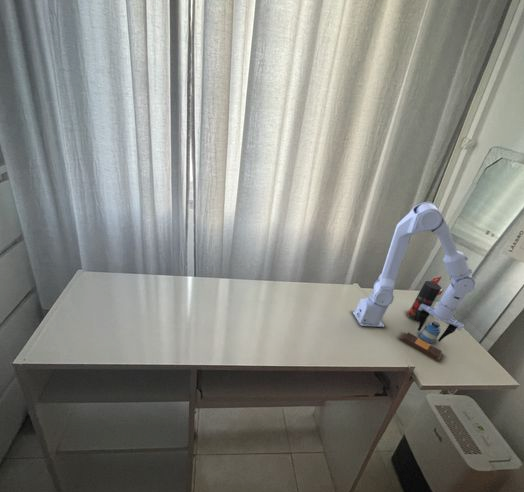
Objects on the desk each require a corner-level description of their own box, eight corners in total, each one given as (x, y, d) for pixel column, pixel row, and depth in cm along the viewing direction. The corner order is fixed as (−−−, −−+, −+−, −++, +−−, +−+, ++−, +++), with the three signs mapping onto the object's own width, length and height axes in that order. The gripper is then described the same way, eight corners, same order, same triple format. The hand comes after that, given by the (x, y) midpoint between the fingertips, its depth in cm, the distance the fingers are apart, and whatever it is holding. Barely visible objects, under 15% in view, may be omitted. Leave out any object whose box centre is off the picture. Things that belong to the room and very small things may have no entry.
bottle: (425, 342, 113) (434, 327, 109) (417, 333, 117) (426, 318, 113) (437, 343, 114) (446, 328, 110) (429, 334, 118) (438, 319, 114)
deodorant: (424, 323, 124) (443, 291, 115) (408, 319, 124) (426, 286, 116) (420, 314, 129) (438, 283, 120) (406, 310, 129) (423, 279, 121)
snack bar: (399, 339, 112) (401, 335, 111) (404, 334, 115) (406, 330, 114) (438, 361, 105) (440, 357, 104) (441, 355, 108) (444, 352, 107)
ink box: (432, 309, 134) (450, 280, 126) (422, 313, 130) (440, 283, 122) (424, 304, 136) (441, 275, 128) (414, 308, 132) (431, 278, 124)
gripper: (473, 311, 106) (452, 341, 114) (430, 290, 113) (413, 320, 121) (469, 318, 102) (447, 349, 109) (424, 296, 108) (407, 327, 116)
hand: (429, 334), depth 115 cm, fingers open, 7 cm apart
